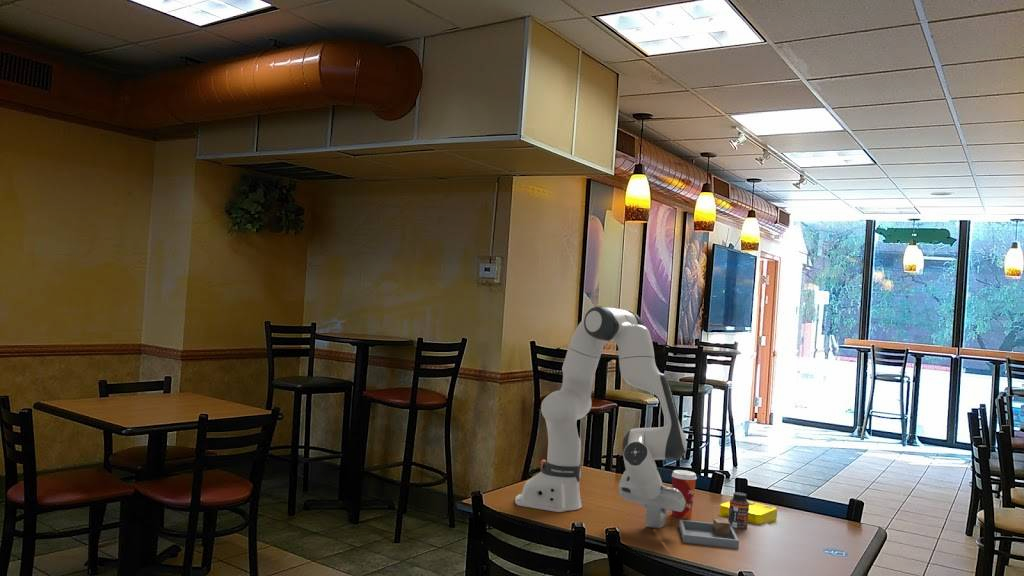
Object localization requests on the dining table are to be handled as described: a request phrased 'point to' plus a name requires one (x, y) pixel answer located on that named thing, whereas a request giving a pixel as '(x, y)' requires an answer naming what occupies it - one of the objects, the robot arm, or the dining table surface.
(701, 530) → the tray
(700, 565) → the dining table surface
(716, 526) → the walnut block
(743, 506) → the supplement bottle
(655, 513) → the steel part
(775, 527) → the dining table surface
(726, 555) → the dining table surface
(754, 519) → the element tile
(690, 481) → the coffee cup
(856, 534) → the dining table surface
